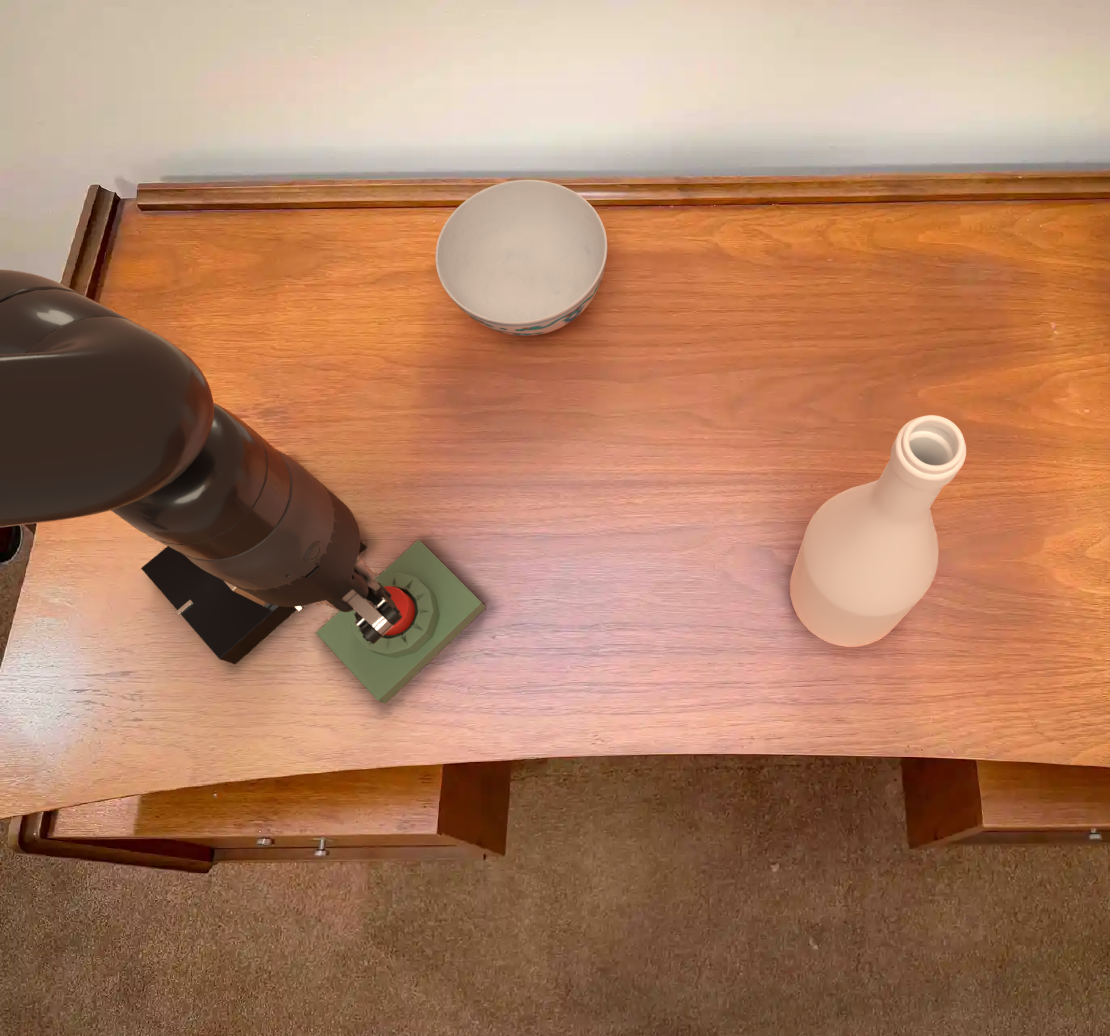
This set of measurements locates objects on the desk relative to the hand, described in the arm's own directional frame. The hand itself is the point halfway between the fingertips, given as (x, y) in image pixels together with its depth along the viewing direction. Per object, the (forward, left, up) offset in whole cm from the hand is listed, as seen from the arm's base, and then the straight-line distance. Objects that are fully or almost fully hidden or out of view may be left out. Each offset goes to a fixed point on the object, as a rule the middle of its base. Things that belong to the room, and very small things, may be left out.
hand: (376, 600), depth 66 cm
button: (0, 0, -4) cm, 4 cm away
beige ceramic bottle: (+27, -25, -7) cm, 37 cm away
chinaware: (+29, +15, -7) cm, 33 cm away
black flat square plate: (-5, +13, -7) cm, 16 cm away
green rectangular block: (0, 0, -7) cm, 7 cm away
